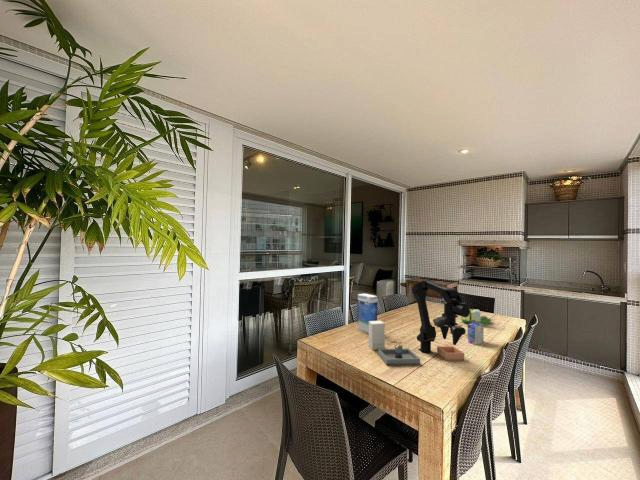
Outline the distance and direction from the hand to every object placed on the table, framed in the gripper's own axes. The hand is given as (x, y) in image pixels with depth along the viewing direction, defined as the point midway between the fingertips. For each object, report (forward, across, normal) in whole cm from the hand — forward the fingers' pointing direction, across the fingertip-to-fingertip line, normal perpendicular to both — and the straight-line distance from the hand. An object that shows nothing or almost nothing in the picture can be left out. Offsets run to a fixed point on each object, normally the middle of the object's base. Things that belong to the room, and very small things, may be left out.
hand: (449, 342), depth 146 cm
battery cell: (+10, -7, -25) cm, 28 cm away
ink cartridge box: (+12, -30, +36) cm, 48 cm away
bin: (+12, -9, +6) cm, 16 cm away
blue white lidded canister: (+12, -56, -29) cm, 64 cm away
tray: (+12, -7, -25) cm, 28 cm away
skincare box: (+12, -24, -32) cm, 42 cm away
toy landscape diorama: (+12, -74, +68) cm, 101 cm away
